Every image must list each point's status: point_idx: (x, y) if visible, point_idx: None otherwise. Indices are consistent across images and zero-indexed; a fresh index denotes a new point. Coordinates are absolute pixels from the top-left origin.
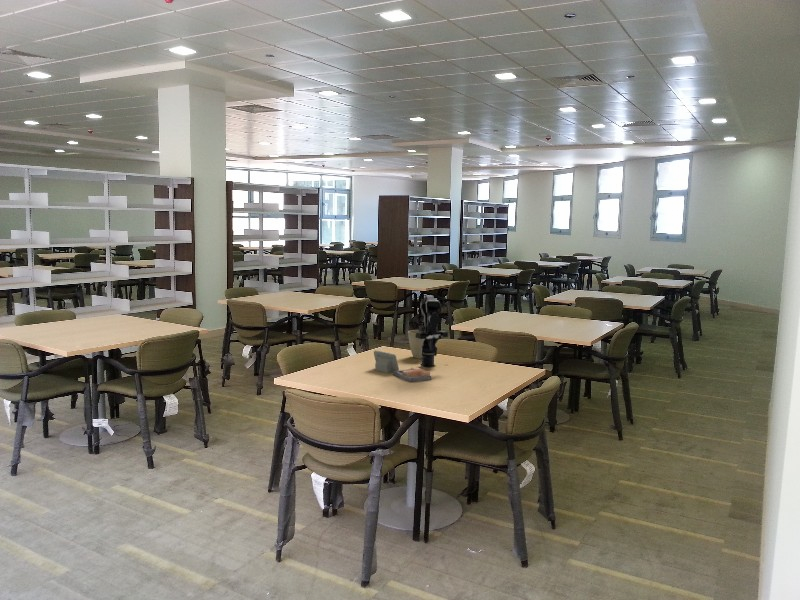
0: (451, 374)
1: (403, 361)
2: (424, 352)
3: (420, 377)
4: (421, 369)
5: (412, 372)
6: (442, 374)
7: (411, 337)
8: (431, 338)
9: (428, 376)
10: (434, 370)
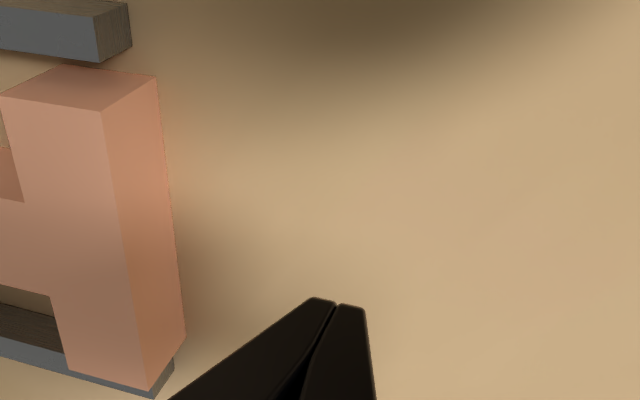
0: (551, 377)
1: None
2: None
3: (35, 362)
4: (105, 251)
5: None
6: (441, 312)
7: None
8: None
9: (122, 388)
10: (529, 75)
